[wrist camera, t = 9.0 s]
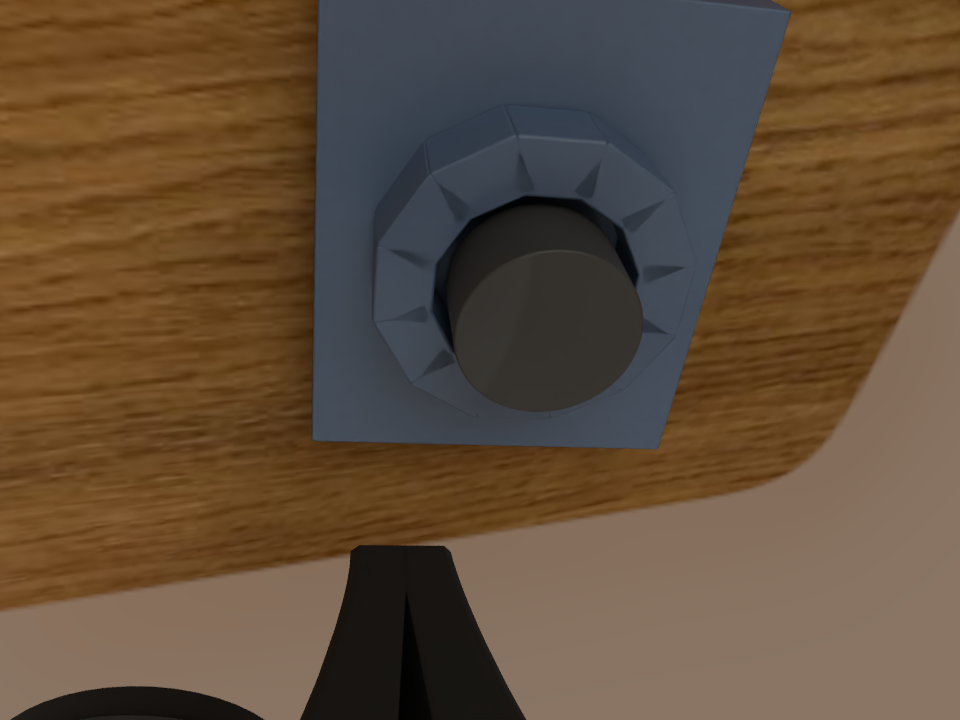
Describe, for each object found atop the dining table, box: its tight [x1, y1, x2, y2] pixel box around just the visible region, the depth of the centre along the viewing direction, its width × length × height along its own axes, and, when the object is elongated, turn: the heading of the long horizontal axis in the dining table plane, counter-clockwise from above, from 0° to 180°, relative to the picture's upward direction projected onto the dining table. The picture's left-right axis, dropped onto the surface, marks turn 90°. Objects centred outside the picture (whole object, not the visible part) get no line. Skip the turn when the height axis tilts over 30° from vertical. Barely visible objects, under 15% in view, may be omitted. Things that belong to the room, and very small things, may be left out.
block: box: [312, 0, 791, 449], centre depth 19 cm, size 11×9×4 cm
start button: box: [446, 204, 643, 412], centre depth 17 cm, size 4×4×2 cm
